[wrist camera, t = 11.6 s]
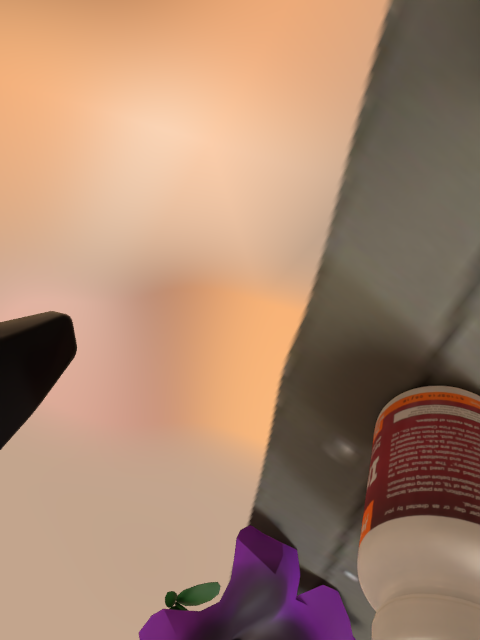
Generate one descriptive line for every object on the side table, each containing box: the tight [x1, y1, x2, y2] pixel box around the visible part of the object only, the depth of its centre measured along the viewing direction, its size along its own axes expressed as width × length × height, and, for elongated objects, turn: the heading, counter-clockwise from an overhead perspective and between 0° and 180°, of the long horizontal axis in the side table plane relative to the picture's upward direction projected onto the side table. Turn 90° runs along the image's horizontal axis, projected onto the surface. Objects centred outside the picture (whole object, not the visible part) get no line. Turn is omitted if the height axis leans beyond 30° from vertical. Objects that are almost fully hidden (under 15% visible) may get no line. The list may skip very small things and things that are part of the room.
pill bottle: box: [357, 386, 480, 640], centre depth 17 cm, size 6×6×11 cm
